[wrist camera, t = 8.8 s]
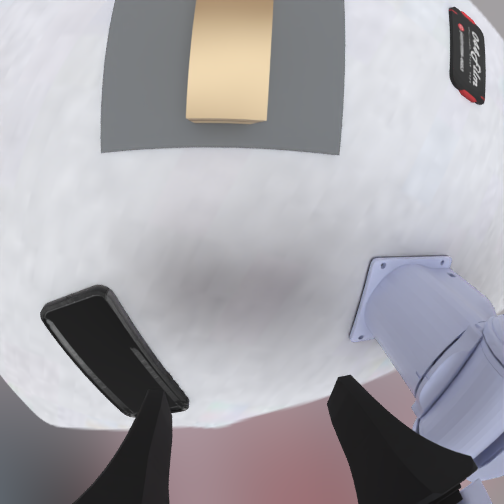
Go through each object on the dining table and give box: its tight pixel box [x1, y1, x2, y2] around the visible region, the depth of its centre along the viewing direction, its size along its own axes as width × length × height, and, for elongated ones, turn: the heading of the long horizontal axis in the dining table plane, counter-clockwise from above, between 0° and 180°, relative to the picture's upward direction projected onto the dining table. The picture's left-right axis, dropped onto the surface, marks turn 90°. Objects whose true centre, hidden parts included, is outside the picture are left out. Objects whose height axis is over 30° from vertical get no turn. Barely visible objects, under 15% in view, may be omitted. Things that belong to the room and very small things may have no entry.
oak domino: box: [186, 0, 273, 124], centre depth 10 cm, size 10×3×5 cm, turn 177°
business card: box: [449, 7, 486, 105], centre depth 13 cm, size 10×1×5 cm
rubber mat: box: [101, 0, 345, 155], centre depth 12 cm, size 14×12×1 cm
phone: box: [40, 285, 189, 417], centre depth 20 cm, size 8×1×15 cm
